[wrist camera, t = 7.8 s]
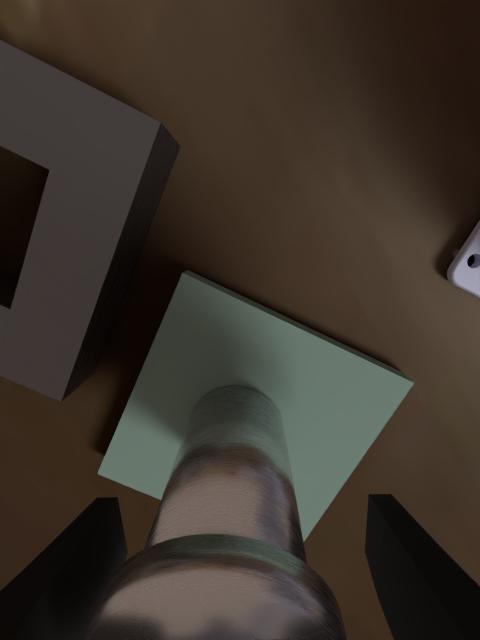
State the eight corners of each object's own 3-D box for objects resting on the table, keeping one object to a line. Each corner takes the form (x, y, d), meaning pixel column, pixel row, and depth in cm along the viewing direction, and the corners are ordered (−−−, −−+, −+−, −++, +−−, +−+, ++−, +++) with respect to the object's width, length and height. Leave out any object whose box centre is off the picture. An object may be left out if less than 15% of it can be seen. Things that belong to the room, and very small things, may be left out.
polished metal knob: (168, 378, 13) (39, 598, 5) (292, 368, 12) (359, 588, 5) (186, 480, 14) (105, 782, 6) (298, 474, 14) (359, 782, 6)
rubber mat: (187, 270, 13) (182, 272, 12) (402, 372, 13) (414, 383, 12) (107, 458, 15) (97, 473, 14) (292, 535, 16) (294, 554, 15)
